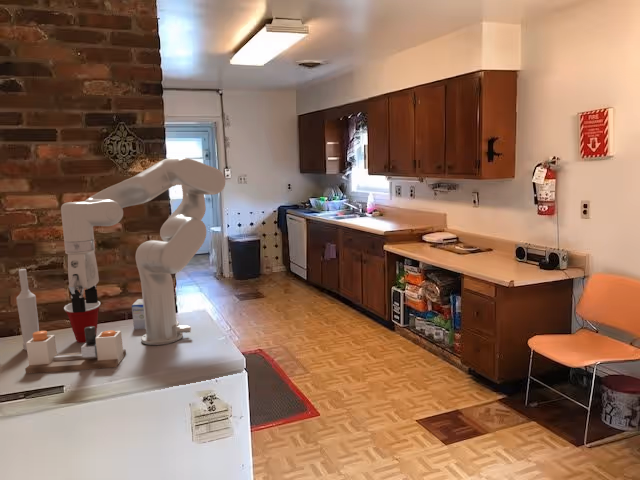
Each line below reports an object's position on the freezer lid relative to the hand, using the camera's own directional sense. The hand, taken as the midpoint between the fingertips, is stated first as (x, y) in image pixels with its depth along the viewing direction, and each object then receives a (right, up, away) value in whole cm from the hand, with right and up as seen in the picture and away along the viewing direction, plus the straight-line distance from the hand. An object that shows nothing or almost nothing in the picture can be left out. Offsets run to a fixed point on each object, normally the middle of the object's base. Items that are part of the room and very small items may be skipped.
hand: (85, 307), depth 147 cm
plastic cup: (-10, -14, +23) cm, 28 cm away
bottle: (-25, -15, +18) cm, 34 cm away
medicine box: (+4, -11, +36) cm, 38 cm away
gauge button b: (-13, -9, +1) cm, 16 cm away
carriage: (+1, -13, +2) cm, 14 cm away
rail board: (-3, -16, +2) cm, 17 cm away
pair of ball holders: (-3, -16, +2) cm, 17 cm away
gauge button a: (+6, -9, +2) cm, 11 cm away
